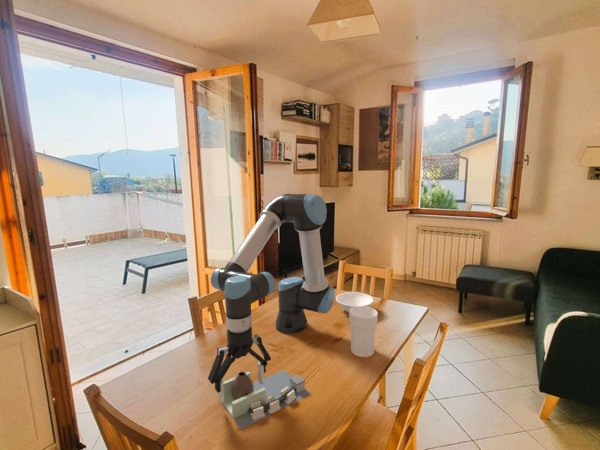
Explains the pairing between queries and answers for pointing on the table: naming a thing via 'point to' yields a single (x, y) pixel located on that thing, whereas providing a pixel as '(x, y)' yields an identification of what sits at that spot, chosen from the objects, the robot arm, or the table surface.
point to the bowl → (353, 300)
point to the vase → (241, 386)
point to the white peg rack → (274, 406)
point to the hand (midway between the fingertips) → (242, 390)
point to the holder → (241, 399)
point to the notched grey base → (281, 400)
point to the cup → (362, 330)
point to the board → (272, 387)
